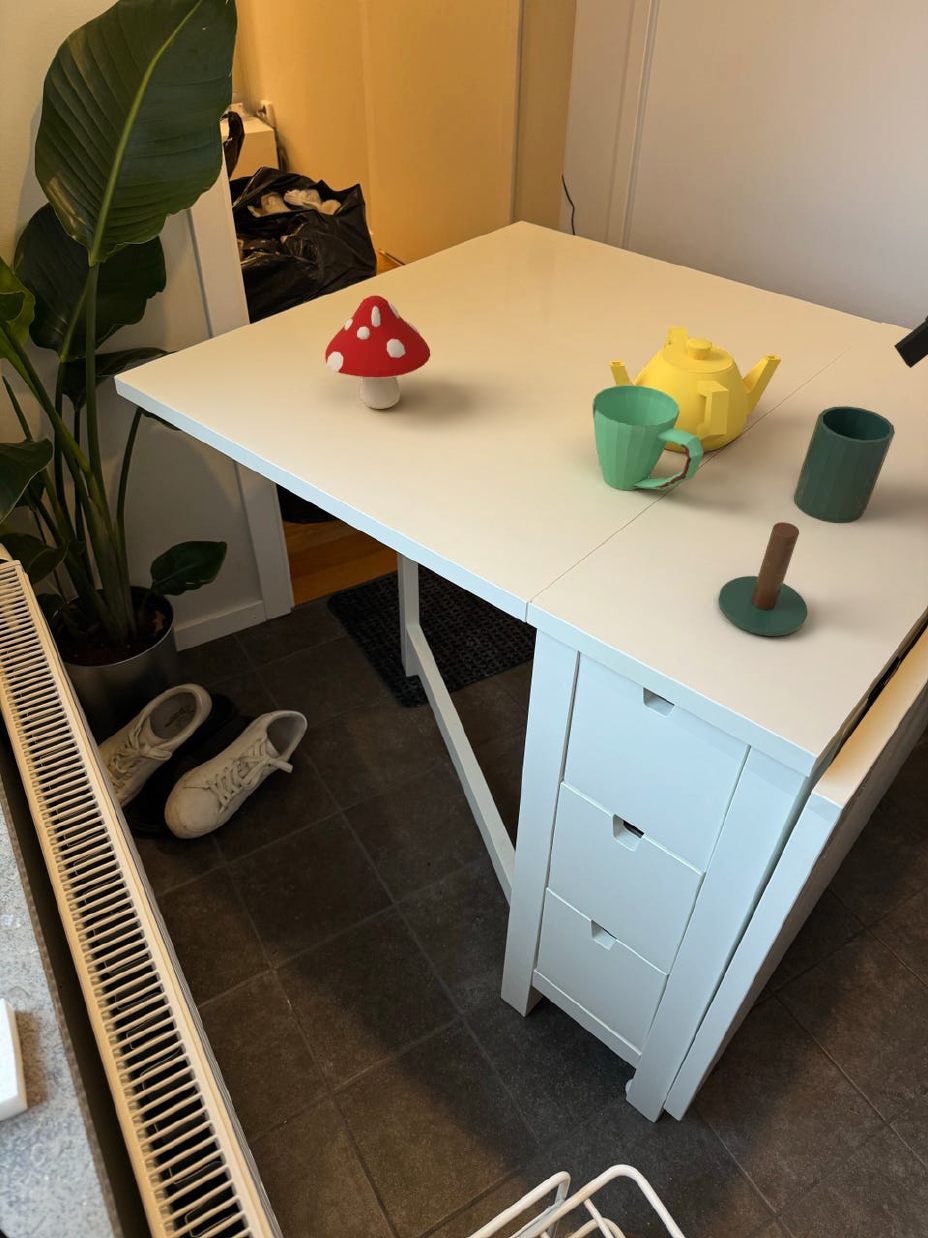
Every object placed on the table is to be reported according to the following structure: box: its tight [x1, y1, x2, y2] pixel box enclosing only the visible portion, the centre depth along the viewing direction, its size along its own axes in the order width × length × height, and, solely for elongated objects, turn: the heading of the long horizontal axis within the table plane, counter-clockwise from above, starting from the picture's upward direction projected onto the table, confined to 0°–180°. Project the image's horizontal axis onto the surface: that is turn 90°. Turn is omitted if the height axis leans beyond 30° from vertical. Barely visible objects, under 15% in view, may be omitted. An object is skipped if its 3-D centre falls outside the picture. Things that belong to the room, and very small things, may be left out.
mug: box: [591, 385, 704, 491], centre depth 104 cm, size 15×10×10 cm
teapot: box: [608, 326, 782, 453], centre depth 114 cm, size 17×17×12 cm
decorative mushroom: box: [324, 295, 431, 410], centre depth 116 cm, size 14×14×15 cm
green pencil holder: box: [793, 405, 896, 524], centre depth 102 cm, size 8×8×10 cm
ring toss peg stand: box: [717, 521, 808, 637], centre depth 87 cm, size 9×9×10 cm
